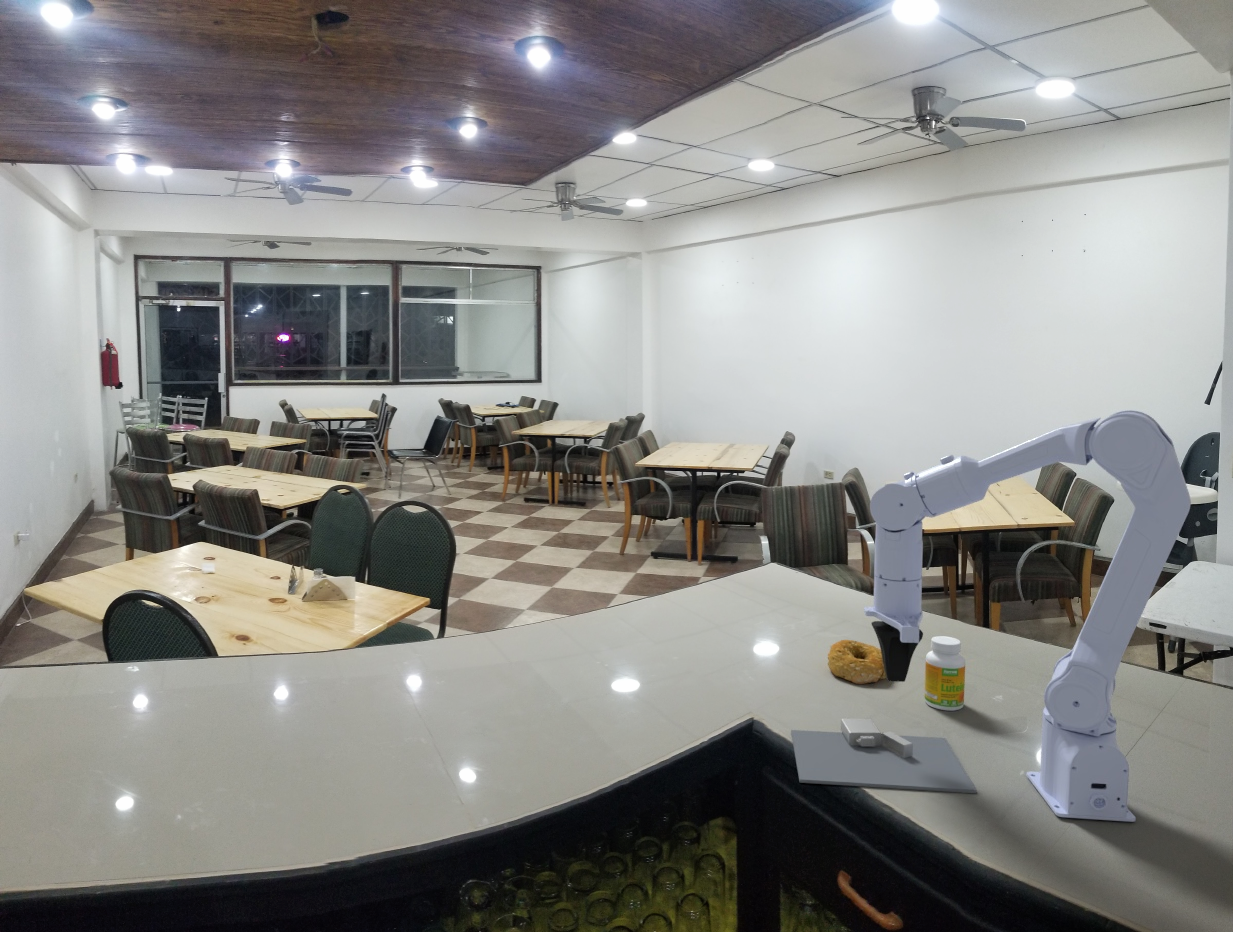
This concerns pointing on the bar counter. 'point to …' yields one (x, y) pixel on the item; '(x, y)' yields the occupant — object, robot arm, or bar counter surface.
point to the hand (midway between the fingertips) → (895, 679)
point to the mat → (878, 763)
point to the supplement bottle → (945, 674)
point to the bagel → (856, 662)
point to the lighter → (874, 736)
